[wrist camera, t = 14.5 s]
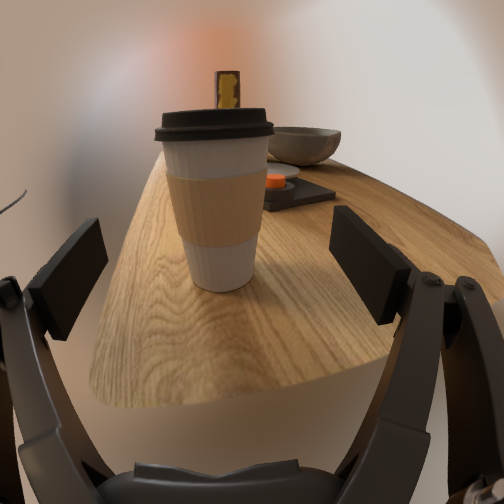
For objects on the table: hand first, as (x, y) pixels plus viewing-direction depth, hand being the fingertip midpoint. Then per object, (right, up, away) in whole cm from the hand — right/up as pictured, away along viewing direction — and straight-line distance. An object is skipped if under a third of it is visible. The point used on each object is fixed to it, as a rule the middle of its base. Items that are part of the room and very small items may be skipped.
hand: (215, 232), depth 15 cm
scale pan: (+5, +14, +36) cm, 39 cm away
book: (-5, +27, +66) cm, 71 cm away
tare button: (+5, +9, +28) cm, 30 cm away
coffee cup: (-1, -3, +12) cm, 13 cm away
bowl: (+15, +22, +57) cm, 63 cm away
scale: (+6, +10, +36) cm, 38 cm away
